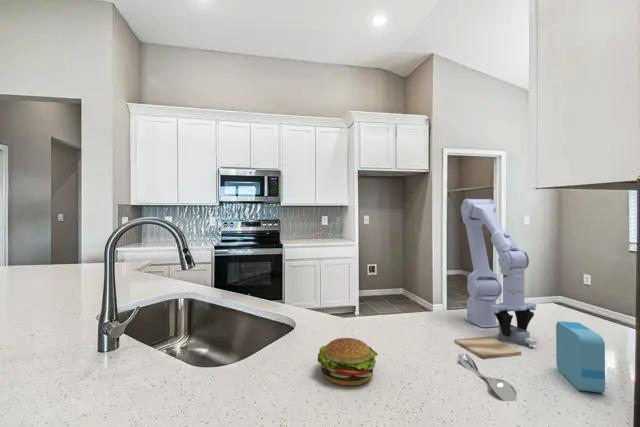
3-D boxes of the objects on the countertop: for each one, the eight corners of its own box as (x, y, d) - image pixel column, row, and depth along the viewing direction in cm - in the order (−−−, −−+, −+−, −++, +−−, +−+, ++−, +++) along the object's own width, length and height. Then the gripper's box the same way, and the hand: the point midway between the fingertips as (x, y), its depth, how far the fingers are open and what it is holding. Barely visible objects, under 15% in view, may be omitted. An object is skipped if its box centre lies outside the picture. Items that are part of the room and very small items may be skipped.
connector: (495, 334, 105) (495, 323, 105) (506, 333, 106) (506, 322, 106) (528, 349, 93) (528, 337, 94) (540, 348, 94) (539, 336, 94)
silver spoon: (452, 345, 86) (470, 345, 87) (452, 359, 87) (470, 358, 87) (499, 390, 66) (522, 389, 67) (499, 407, 67) (521, 406, 67)
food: (381, 365, 83) (381, 333, 83) (371, 393, 70) (371, 355, 70) (328, 358, 88) (329, 327, 88) (309, 382, 74) (310, 346, 74)
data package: (605, 396, 69) (605, 338, 69) (580, 393, 70) (579, 335, 70) (577, 370, 81) (576, 320, 81) (556, 368, 82) (555, 319, 82)
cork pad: (454, 342, 99) (454, 339, 99) (489, 339, 101) (489, 336, 101) (482, 358, 87) (482, 355, 87) (521, 354, 90) (521, 351, 90)
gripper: (503, 294, 96) (503, 341, 96) (544, 291, 99) (544, 337, 99) (485, 289, 103) (485, 333, 102) (525, 286, 106) (525, 329, 106)
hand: (513, 334), depth 101 cm, fingers open, 5 cm apart
